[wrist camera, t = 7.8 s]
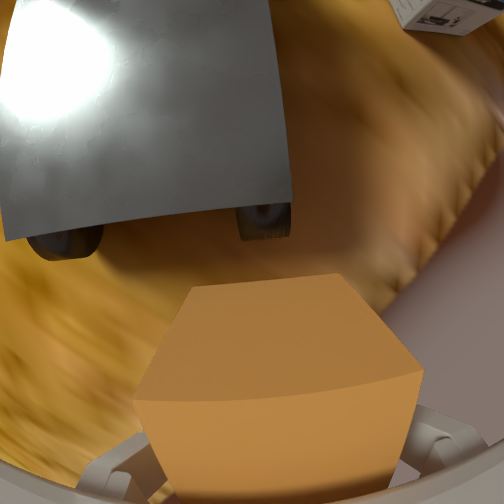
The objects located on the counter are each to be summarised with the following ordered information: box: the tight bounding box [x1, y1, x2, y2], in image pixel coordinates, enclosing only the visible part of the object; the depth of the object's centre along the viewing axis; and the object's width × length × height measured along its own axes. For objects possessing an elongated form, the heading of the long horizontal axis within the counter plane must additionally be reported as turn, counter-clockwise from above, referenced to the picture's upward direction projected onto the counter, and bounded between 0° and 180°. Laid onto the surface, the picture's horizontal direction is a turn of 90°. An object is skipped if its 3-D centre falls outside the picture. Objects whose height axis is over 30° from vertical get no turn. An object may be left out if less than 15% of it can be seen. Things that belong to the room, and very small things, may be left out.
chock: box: [131, 273, 424, 504], centre depth 8 cm, size 5×8×6 cm, turn 6°
